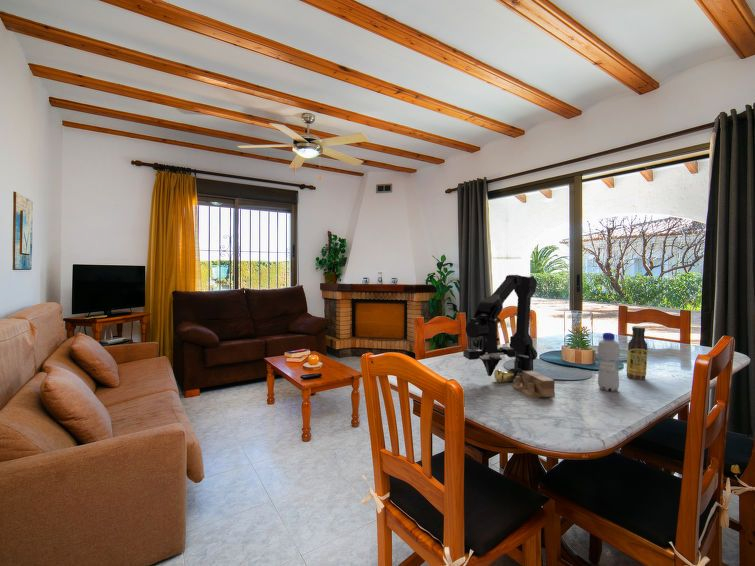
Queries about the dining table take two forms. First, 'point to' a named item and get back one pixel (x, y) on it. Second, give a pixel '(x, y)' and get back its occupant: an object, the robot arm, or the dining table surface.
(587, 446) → the dining table surface
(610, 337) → the bottle
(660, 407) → the dining table surface
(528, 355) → the robot arm
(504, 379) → the brass bolt
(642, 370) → the sauce bottle
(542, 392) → the walnut bar
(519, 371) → the keeper
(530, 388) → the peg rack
